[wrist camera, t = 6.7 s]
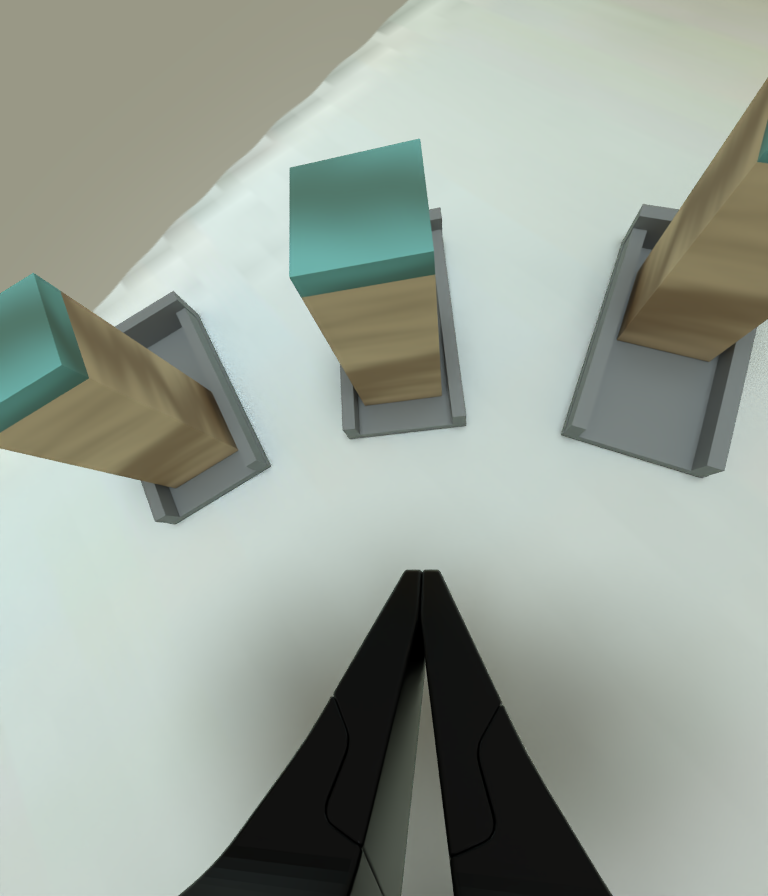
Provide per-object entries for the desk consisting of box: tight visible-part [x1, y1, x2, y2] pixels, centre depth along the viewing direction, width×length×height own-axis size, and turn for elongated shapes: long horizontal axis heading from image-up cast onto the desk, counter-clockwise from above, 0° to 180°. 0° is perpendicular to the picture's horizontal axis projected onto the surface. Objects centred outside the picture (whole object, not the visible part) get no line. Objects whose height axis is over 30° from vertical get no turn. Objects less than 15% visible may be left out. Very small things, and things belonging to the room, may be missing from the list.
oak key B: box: [289, 139, 442, 406], centre depth 17 cm, size 4×4×11 cm
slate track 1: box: [115, 291, 271, 524], centre depth 24 cm, size 13×7×2 cm, turn 30°
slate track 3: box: [561, 204, 757, 478], centre depth 20 cm, size 13×7×2 cm, turn 158°
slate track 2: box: [340, 208, 466, 439], centre depth 23 cm, size 13×7×2 cm, turn 4°
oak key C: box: [0, 273, 238, 488], centre depth 18 cm, size 4×4×11 cm
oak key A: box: [617, 78, 768, 362], centre depth 15 cm, size 4×4×11 cm
